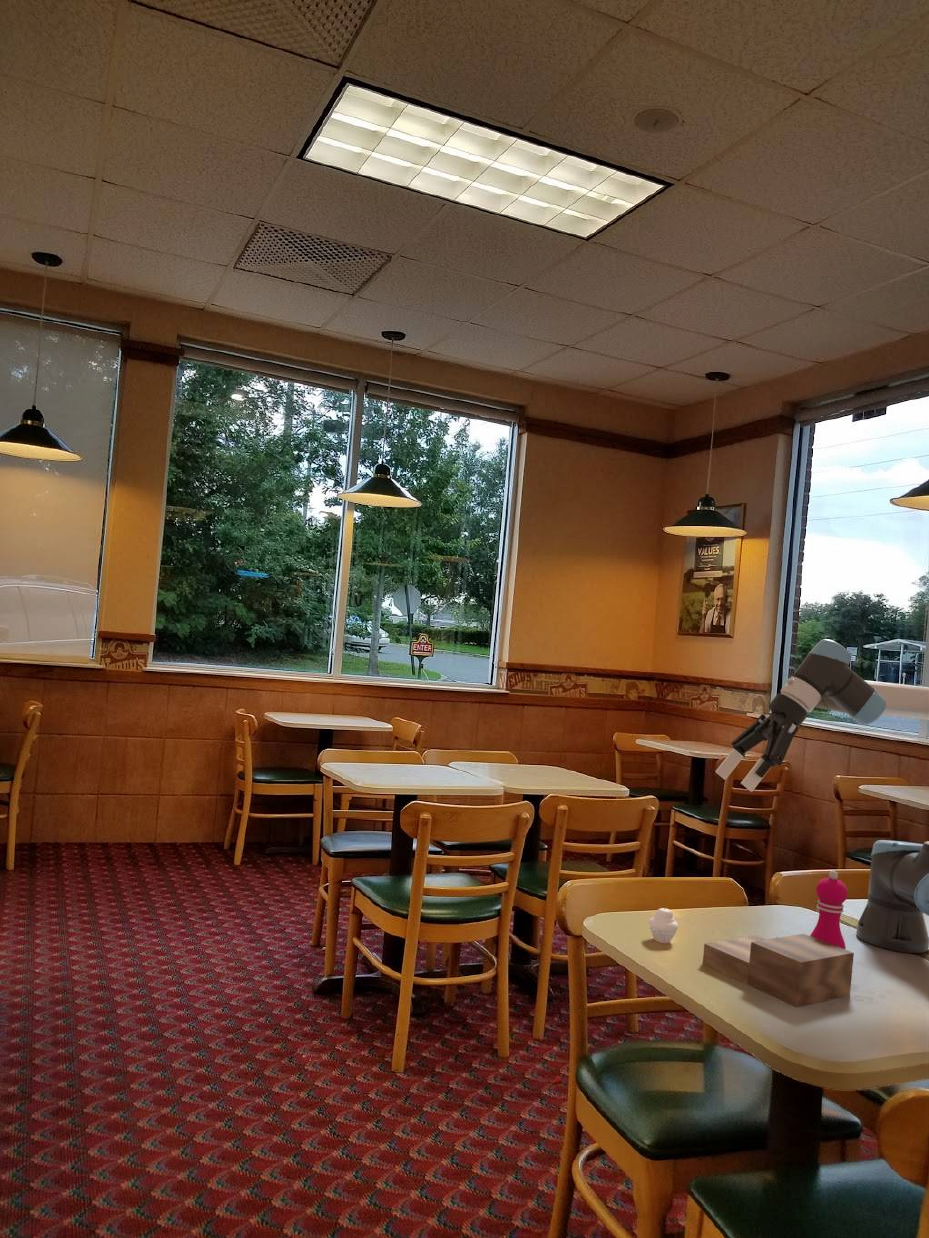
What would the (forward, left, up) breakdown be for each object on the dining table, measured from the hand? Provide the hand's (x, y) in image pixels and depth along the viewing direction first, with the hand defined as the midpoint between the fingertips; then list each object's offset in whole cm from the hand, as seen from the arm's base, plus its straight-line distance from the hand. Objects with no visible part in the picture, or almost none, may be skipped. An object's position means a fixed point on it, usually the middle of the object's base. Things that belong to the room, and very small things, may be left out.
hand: (732, 781), depth 193 cm
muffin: (+8, -8, -35) cm, 37 cm away
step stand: (+2, +16, -35) cm, 39 cm away
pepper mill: (-14, +16, -35) cm, 41 cm away
